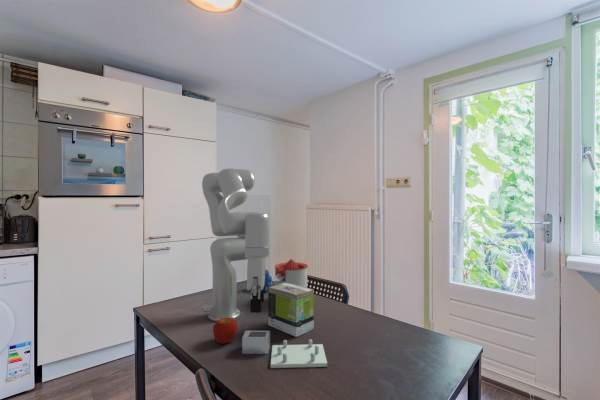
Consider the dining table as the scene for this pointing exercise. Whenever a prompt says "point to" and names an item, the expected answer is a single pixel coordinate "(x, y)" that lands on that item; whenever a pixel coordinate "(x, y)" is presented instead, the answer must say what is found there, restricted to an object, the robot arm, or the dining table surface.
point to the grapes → (267, 280)
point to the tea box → (291, 308)
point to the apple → (225, 330)
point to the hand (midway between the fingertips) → (257, 306)
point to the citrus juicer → (291, 273)
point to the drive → (256, 342)
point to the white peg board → (298, 355)
